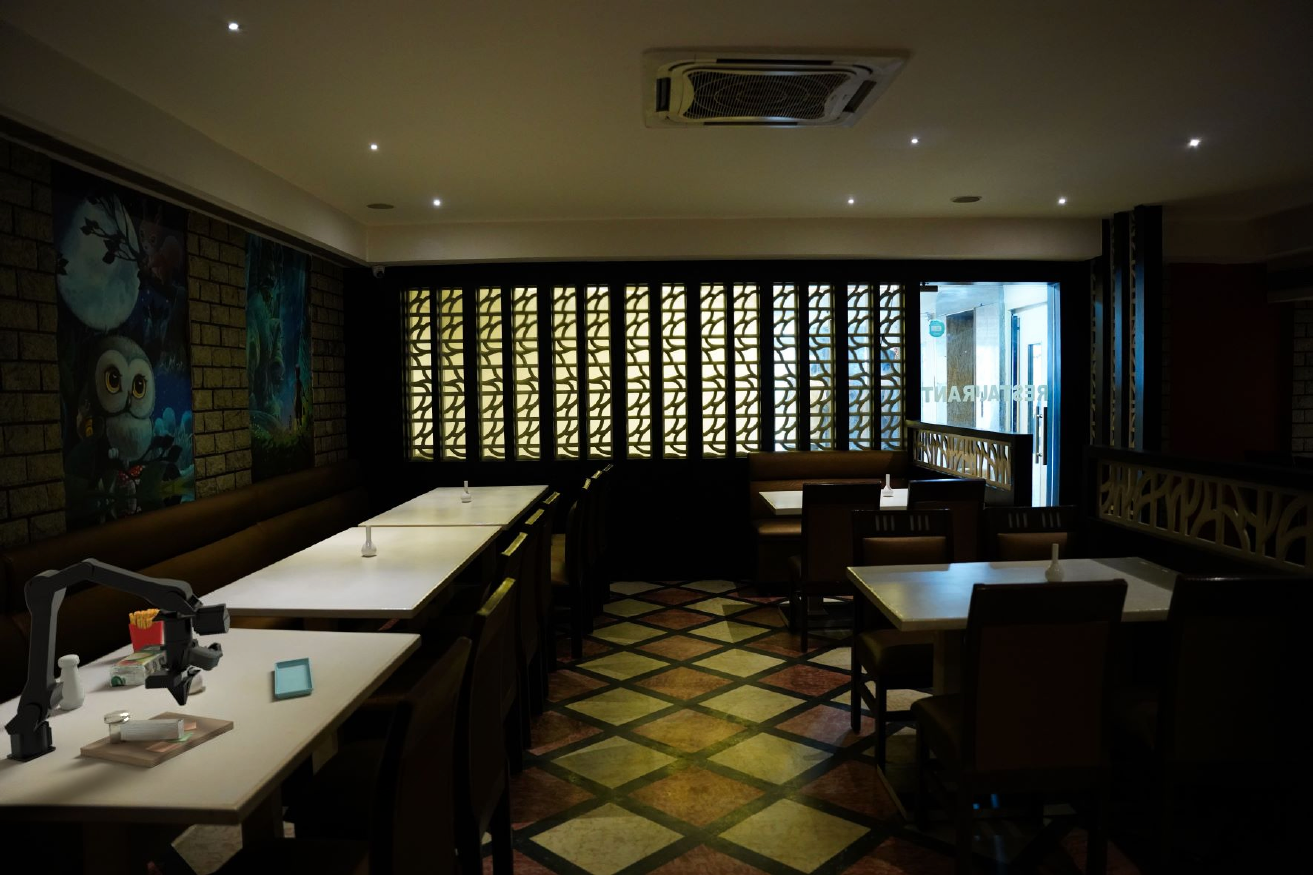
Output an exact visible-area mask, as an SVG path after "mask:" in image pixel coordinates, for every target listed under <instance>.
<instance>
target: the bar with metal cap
mask: <svg viewBox="0 0 1313 875" xmlns="http://www.w3.org/2000/svg"><path fill="white" fill-rule="evenodd" d="M130 713H131V711H130V710H127V709H119V710H115V711H112V712H108V713H106V714H104V716H103V723H104V725H108V736H109V738H110V743H118V742H122V741H124V740H144V739H179V738H181V737H182V736H183V735H184V725H183V719H161V720H148V719H130V718H131V715H130Z"/></svg>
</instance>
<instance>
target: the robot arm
mask: <svg viewBox="0 0 1313 875" xmlns="http://www.w3.org/2000/svg"><path fill="white" fill-rule="evenodd" d="M84 580H86V581H90V582H93V583H96V584H99V585H103V586H107V587H109V588H113V589H116V590H119V591H121V592H126V593H129V594H132V595H136V596H140V597H141V598H144V599H145V600H147V601H148V602H149V603H151V604H152V605H153V606H155V607H158V608H159V609H158V610H159V612H158V614H157V615H156V616H155V617H154V618H153V619H152V622H157V621H163V635H162V636H163V643H162V644H163V645H161V646H160V651H162V650H164V651H165V662H164V663H162V664H161V669H162V668H168V669H167V670H157V671H155V672H154V673H152V674H151V675H149V676H148V677H147V678H146V679H145V684H144V689H146V690H154V689H155V690H157V689H167V690H168V692H169V693H170V694H171V696H172V698H173V699H175V702H176V703H177V704H178V706H180V707H183V706H184V707H185V705H187V701H188V697H189V693H190V691H191V690H190V689H191V685H192V683H193V680H194V679H195V677H196V676H197V675H199V674H200V673H201V672H202V670H203V671H205V672H209V671H210V672H211V671H212V670H213V669H214V668H217V667H218V665H219V662H220V659H221V658H222V657H223V656H224V654H223V649H222V645H221V643H220V642H217V641H214V642H212V643H210V645H209V646H207V645H205V646H201V645H199V639H198V638H194V637H193V635H194V633H195V634H196V635H199V637H204V636H205V637H206V636H215V635H223V634H225V635H226V634H228V633H229V632H230V626H231V619H230V618H231V617H230V614H229V610H228V609H227V604H226V603H225V602H223V603H218V604H212V605H204V603H203V602H202V600H200V599H199V598H198V597H197V596H196V594H194V593H193V589H192V587H191V584H190V583H188V582H187V581H184V580H179V579H171V578H157V577H155V578H154V577H150V576H148V575H147V576H146V575H145V574H144V575H143V574H141V573H136V572H133V571H131V570H127V569H126V568H120V567H119V566H115V565H111V564H108V563H105V562H102V561H99V560H98V559H95V558H87V559H83V560H82V561H80V562H78V563H77V564H73V565H71V566H68V567H65V568H63V569H61V570H57V569H49V570H48V569H47V570H46V571H43V572H41V573H39V574H37V575H35V576H33V577H31V578H30V579H29V580H28V581H27V582H26V583H25V586H24V597H25V602H26V603H25V604H26V606H27V608H28V611H29V613H30V615H31V621H30V641H29V654H28V669H27V671H28V672H27V680H26V683H25V685H24V687H23V690H22V692H21V694H20V697H19V701H18V704H17V708H16V714H15V715H14V716H13V717H12V718H11V719H10V721H8V722H7V723H6V724H5V726H4V729H5V731H6V733H7V735H8V736H9V740H10V752H11V753H8V754H7V755H6V758H7V759H11V760H17V761H22V762H28V761H29V762H30V761H31V760H33V759H36V758H38V757H41V756H42V755H45V754H48V753H51V752H53V751H55V750H57V746H54V745H53V730H52V727H51V726H50V721H49V720H48V719H49V718H51V716H52V715H51V714H52V712H54V710H56V709H57V708H58V706H59V702H60V701H61V700H62V699H64V698H63V695H62V689H63V685H64V682H60V681H59V682H57V680H56V678H55V675H54V669H55V655H56V654H55V652H56V638H57V637H56V636H57V635H56V634H57V622H58V621H57V620H58V611H59V609H60V607H61V604H62V603H63V600H64V599H65V598H64V597H65V595H66V590H67V588H68V587H70V586H73V585H75V584H77V583H79V582H82V581H84ZM193 632H194V633H193ZM196 668H198V669H196Z"/></svg>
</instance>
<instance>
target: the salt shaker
mask: <svg viewBox="0 0 1313 875" xmlns="http://www.w3.org/2000/svg"><path fill="white" fill-rule="evenodd" d="M79 663H80V659H79V656H78V655H77V654H67V655H64V656H62V657H59V659H58V660H57V664H58V667H59V668H60V669H61V670H60V679H59V682H64V685H63V689H62V695H63V698H64V699H62V700H61V701H60V702H59V705H58V706H59V707H60V709H61V710H62V711H71V710H75V709H78V708H80V707H82V706H83V704H84V701H85V698H86V693H85V691H84V687H83V684H82V679H81V676H80V673H79V672H80V671H79V670H78V665H79Z"/></svg>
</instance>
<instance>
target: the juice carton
mask: <svg viewBox="0 0 1313 875" xmlns="http://www.w3.org/2000/svg"><path fill="white" fill-rule="evenodd" d="M163 644H164V643H162V644H158V645H157V644H156V645H150V644H148V645H145V646H144V647H142V648H141V649H139V650H137V651H136V652H134V651H133V652H132V653H131V654H130V655H128V656H126V657H124V658H123V659H122V660H119V661H118V662H116V663H115V664H113V665H111V666H110V667H109V669H108V670H109V677H110V678H109V684H110V687H113V686H121V685H122V686H135V685H136V686H138V685H139V686H140V685H145V679H146V678H147V677H148V676H149V675H151V674H152V673H154V672H155V671H157V670H168V668H162V669H161V664H162V663H164V662H165V651H164V650H162V651H160V646H161V645H163Z"/></svg>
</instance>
